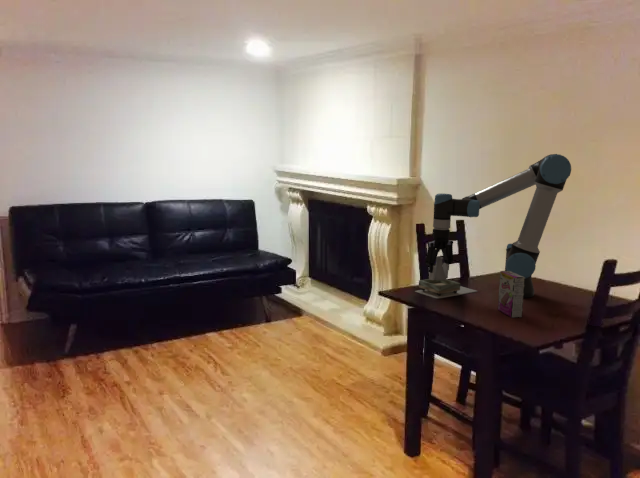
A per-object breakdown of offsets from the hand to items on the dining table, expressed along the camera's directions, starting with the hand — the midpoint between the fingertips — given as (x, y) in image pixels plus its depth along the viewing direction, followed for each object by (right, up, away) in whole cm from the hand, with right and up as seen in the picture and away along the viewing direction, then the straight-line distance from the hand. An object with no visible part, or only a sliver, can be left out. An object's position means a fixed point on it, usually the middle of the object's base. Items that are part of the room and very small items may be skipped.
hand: (438, 278), depth 260 cm
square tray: (+1, -7, +2) cm, 7 cm away
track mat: (+4, -6, +4) cm, 9 cm away
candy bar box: (+22, -12, -29) cm, 39 cm away
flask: (0, 0, 0) cm, 0 cm away
